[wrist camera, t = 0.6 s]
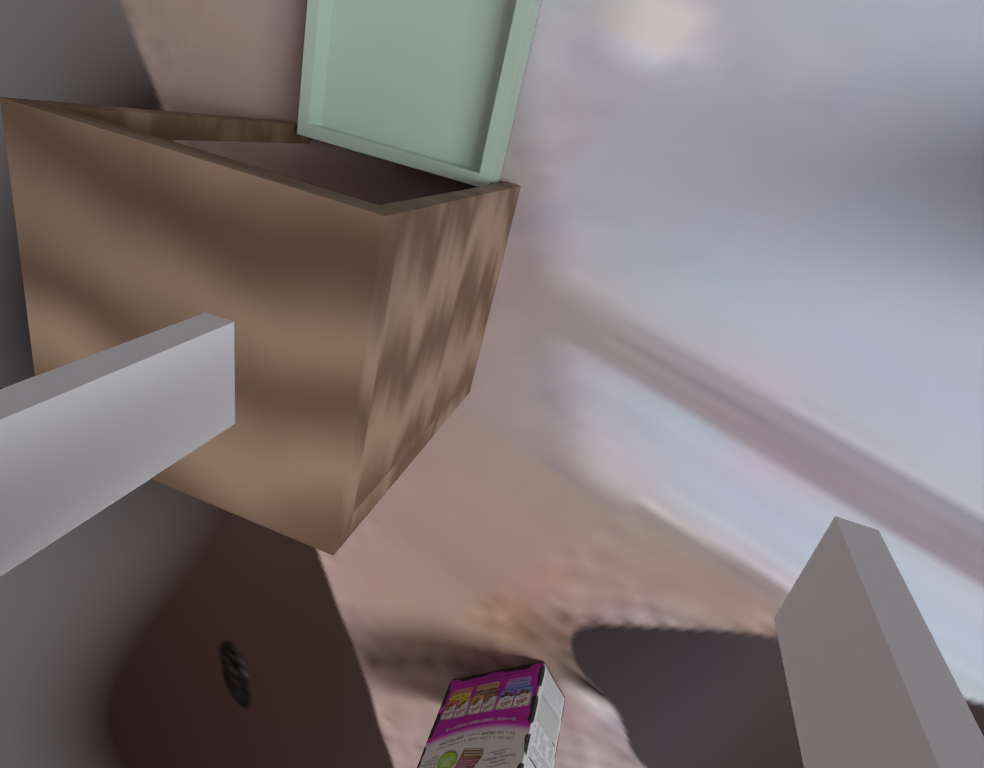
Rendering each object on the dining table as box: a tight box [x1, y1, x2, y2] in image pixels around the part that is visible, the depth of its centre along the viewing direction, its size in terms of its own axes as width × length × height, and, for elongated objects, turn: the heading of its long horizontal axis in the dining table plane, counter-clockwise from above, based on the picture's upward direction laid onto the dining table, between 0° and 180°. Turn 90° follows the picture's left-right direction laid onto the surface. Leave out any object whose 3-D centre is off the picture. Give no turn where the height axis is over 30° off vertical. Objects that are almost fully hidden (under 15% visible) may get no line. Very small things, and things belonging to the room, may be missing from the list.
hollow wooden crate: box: [0, 97, 521, 555], centre depth 34 cm, size 16×17×20 cm
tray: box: [297, 0, 542, 187], centre depth 35 cm, size 18×14×2 cm
